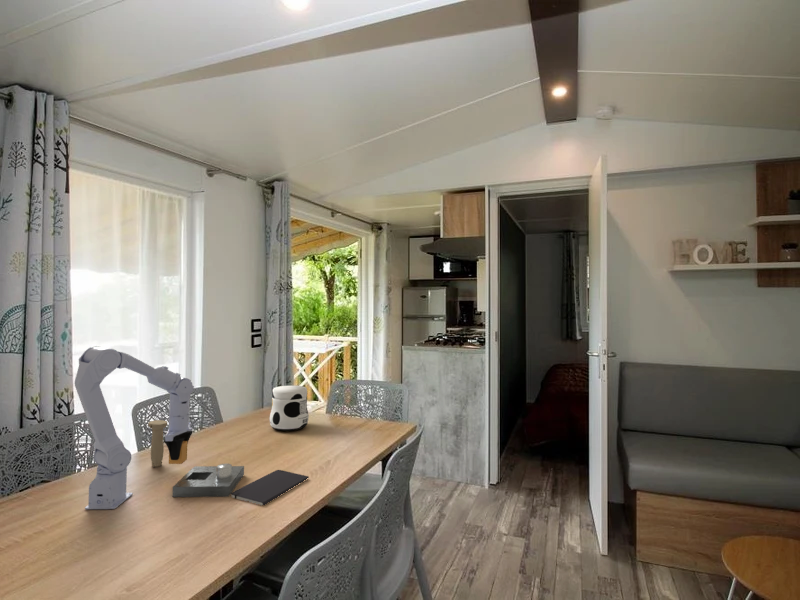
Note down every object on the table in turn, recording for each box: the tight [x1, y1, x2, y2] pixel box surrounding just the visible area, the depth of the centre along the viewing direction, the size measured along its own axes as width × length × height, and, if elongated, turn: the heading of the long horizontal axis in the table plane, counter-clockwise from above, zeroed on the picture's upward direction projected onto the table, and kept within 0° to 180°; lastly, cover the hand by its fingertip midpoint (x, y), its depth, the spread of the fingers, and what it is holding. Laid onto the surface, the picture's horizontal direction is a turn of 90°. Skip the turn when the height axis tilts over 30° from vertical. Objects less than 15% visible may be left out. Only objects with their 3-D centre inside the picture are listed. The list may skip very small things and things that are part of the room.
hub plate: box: [171, 463, 245, 498], centre depth 136 cm, size 16×16×6 cm
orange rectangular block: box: [168, 441, 188, 465], centre depth 141 cm, size 4×4×6 cm
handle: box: [147, 419, 168, 468], centre depth 152 cm, size 5×6×15 cm
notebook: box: [230, 469, 309, 506], centre depth 136 cm, size 13×2×21 cm
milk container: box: [269, 385, 310, 432], centre depth 200 cm, size 17×17×18 cm
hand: (178, 457), depth 141 cm, fingers closed on orange rectangular block, 4 cm apart
